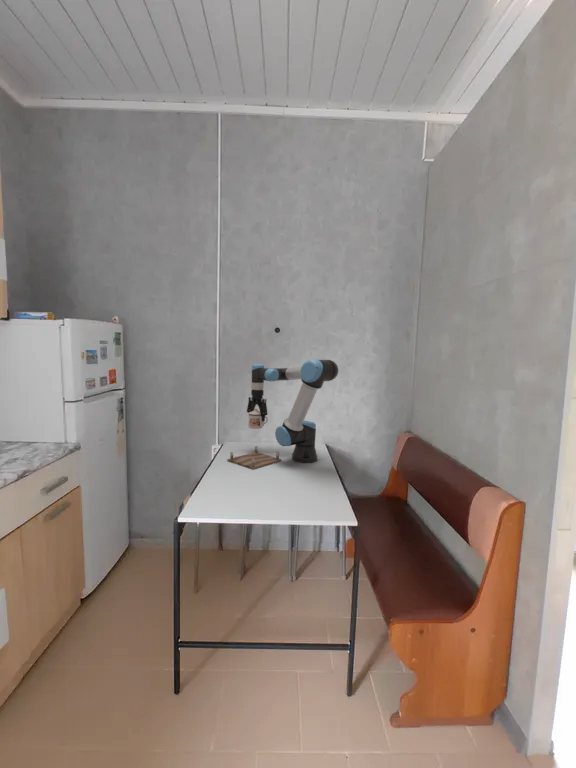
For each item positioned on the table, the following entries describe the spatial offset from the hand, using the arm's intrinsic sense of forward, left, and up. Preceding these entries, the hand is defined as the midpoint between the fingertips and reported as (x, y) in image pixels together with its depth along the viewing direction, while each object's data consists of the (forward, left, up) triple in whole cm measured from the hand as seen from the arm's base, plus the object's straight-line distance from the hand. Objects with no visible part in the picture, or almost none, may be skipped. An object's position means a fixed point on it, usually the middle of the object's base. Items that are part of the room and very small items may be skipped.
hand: (256, 425), depth 243 cm
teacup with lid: (-1, 0, -2) cm, 2 cm away
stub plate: (-14, +14, -17) cm, 26 cm away
